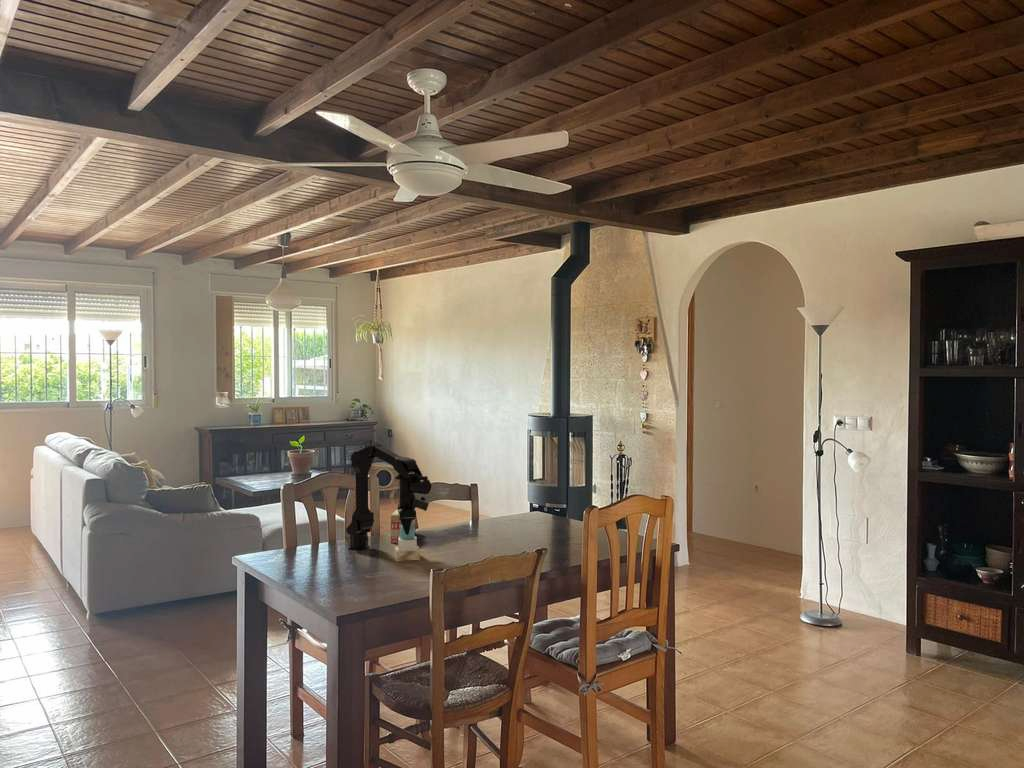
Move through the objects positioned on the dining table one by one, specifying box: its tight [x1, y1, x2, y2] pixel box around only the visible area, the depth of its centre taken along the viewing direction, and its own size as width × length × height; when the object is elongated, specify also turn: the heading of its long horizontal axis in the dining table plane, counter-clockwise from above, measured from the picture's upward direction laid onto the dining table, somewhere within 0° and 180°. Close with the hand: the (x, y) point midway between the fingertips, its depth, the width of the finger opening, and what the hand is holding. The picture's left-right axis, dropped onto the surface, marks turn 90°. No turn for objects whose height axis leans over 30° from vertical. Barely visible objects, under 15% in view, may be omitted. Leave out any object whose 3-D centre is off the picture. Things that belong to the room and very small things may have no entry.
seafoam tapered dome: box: [400, 524, 416, 540], centre depth 302 cm, size 6×6×5 cm
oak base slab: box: [394, 545, 421, 562], centre depth 302 cm, size 9×9×4 cm
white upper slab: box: [397, 536, 418, 551], centre depth 302 cm, size 7×7×4 cm
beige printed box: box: [390, 509, 415, 544], centre depth 338 cm, size 21×6×12 cm, turn 177°
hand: (406, 532), depth 302 cm, fingers open, 9 cm apart
